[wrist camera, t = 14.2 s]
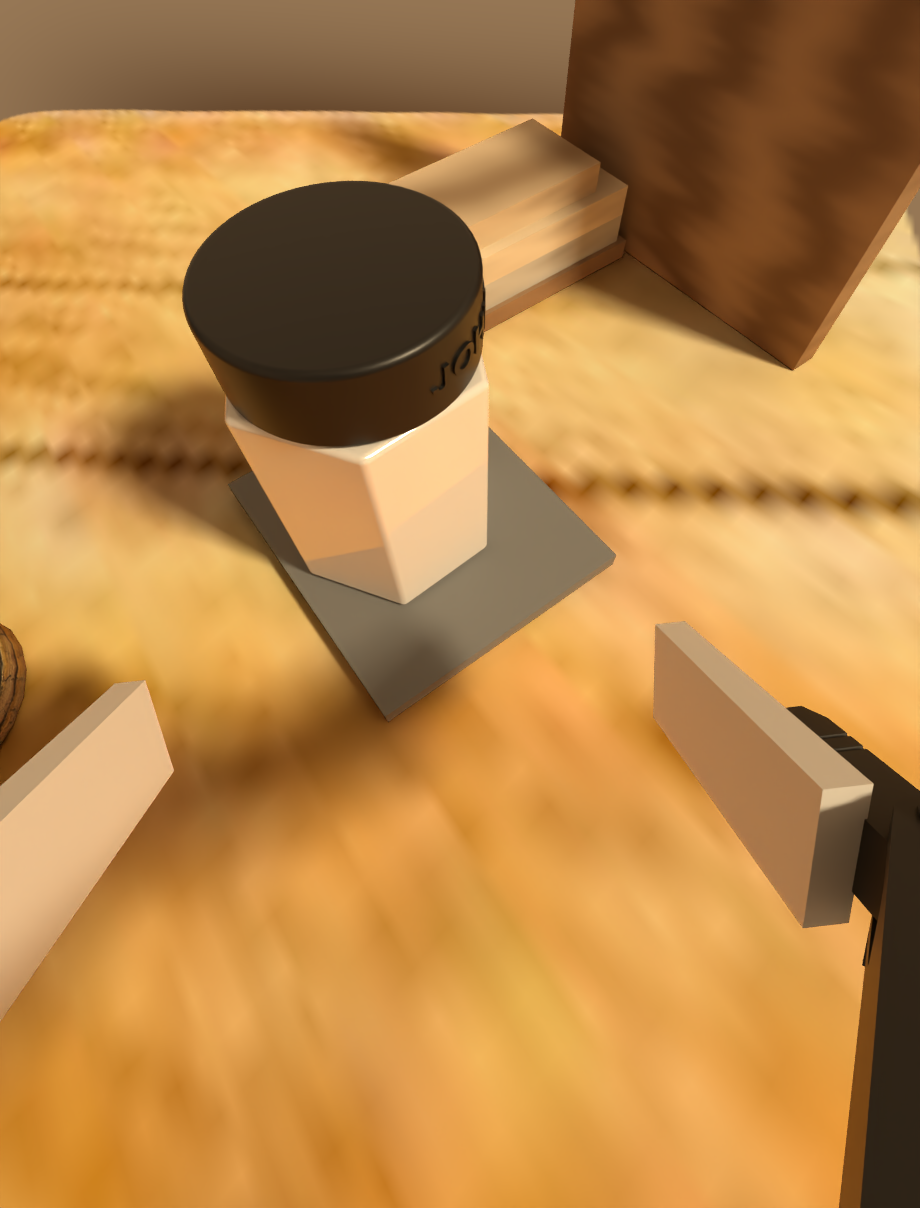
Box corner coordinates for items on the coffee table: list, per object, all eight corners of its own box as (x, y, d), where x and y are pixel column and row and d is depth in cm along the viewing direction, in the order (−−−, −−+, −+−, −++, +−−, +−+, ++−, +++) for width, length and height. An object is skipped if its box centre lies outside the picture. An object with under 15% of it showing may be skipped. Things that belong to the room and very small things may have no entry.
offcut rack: (381, 286, 34) (289, -246, 18) (571, 191, 38) (639, -328, 21) (600, 498, 27) (777, -69, 11) (811, 357, 30) (1188, -235, 14)
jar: (501, 592, 24) (515, 362, 13) (310, 621, 24) (166, 412, 13) (468, 432, 28) (458, 153, 17) (303, 455, 28) (188, 188, 17)
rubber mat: (234, 494, 28) (227, 484, 27) (434, 383, 31) (433, 371, 30) (388, 721, 23) (385, 716, 22) (612, 564, 25) (616, 555, 25)
